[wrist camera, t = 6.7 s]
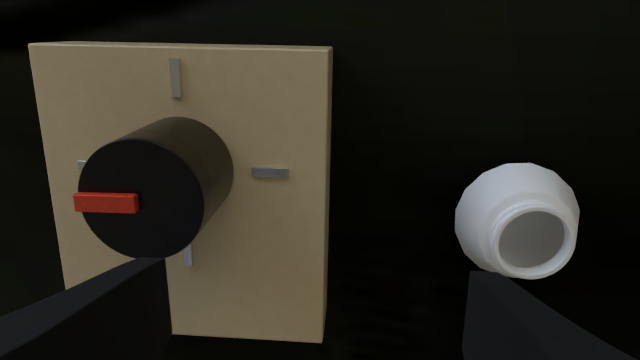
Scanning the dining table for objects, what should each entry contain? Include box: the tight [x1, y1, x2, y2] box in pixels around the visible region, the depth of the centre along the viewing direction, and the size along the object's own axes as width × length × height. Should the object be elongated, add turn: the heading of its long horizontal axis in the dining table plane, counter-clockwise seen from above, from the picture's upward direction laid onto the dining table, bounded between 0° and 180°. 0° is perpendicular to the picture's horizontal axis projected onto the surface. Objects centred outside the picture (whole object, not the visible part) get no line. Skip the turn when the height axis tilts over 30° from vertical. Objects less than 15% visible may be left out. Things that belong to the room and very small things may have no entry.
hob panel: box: [28, 41, 333, 343], centre depth 20 cm, size 12×11×3 cm
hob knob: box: [73, 117, 234, 259], centre depth 17 cm, size 4×4×4 cm
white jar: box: [455, 163, 580, 279], centre depth 20 cm, size 5×3×5 cm
